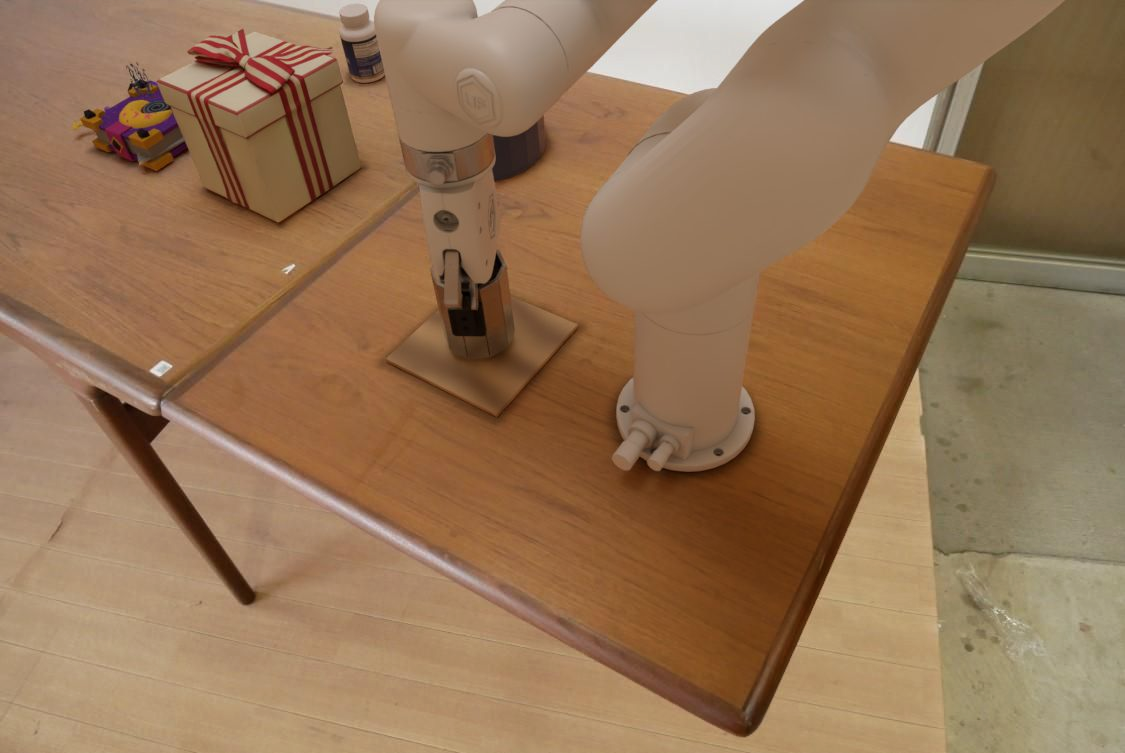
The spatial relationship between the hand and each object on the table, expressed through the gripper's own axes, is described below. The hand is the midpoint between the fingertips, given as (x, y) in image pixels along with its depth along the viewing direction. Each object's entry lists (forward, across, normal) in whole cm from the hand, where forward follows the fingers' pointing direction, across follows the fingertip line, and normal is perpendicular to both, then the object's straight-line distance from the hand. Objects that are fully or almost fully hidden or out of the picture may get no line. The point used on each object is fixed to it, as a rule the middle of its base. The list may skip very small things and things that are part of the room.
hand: (475, 304), depth 82 cm
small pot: (+4, 0, 0) cm, 4 cm away
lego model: (+6, +39, +49) cm, 63 cm away
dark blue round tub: (+6, +36, +4) cm, 37 cm away
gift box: (+6, +31, +29) cm, 43 cm away
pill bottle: (+6, +56, +24) cm, 61 cm away
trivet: (+5, 0, 0) cm, 5 cm away
